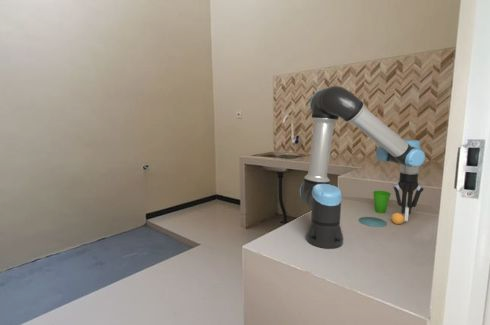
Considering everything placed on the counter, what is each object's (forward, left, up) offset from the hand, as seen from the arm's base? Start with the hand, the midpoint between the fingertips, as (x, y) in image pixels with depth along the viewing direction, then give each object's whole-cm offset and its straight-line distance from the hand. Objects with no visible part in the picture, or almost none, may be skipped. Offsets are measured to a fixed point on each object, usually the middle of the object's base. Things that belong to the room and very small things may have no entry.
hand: (405, 219), depth 134 cm
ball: (-3, 0, 0) cm, 3 cm away
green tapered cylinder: (-8, +17, -3) cm, 19 cm away
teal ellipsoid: (-15, 0, -2) cm, 15 cm away
